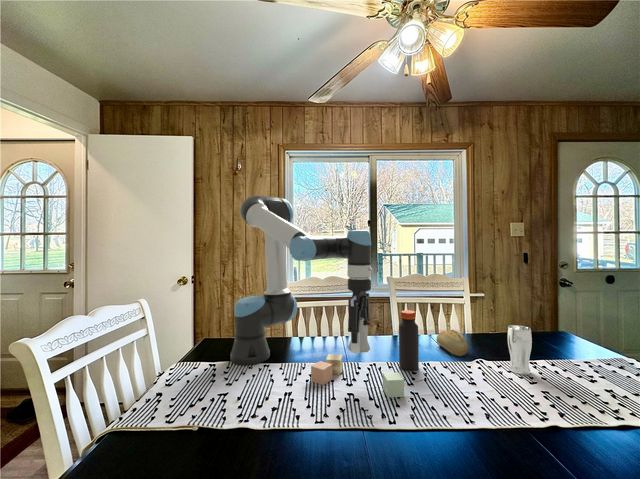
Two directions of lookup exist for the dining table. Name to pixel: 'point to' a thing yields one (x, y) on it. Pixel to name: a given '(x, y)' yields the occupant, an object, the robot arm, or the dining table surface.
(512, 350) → the beer glass
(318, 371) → the terracotta block
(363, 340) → the flask
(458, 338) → the bread roll
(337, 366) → the maple block
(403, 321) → the bottle
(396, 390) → the sage block
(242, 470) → the dining table surface
